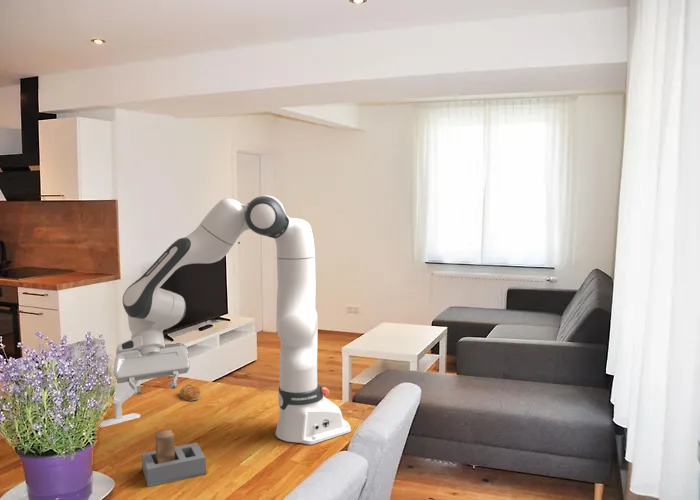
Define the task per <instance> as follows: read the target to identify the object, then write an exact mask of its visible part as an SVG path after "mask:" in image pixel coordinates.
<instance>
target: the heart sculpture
mask: <svg viewBox="0 0 700 500" xmlns="http://www.w3.org/2000/svg"><path fill="white" fill-rule="evenodd" d="M112 371H113V373H114V365H112ZM142 381H143V380H137V381H135V382H134V383H135V385H136V386H140V385H141V384H142ZM140 387H141V386H140ZM133 395H135V393H134V390H133V389H132V388H131V387H130V386H129V382H124V383H117V385H116V393H115V396H114V401H113V403H112V404H114V417H112V418H107V419H103V420H102V421H103V422H101V424H100V425H101V426H100V425H99V426H100V428H104V427H105V428H106V427H108V426H112V425H116V424H120V423H123V422H128V421H131V420H134V419H139V418H141V414H139V413H136V412H131V413H128V414H124V415H123V409H122V408H123V407H122V405H123V404H124V403H125V402H126V401H127V400H128V399H129V398H131V397H132V396H133ZM99 426H98V427H99Z"/></svg>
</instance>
